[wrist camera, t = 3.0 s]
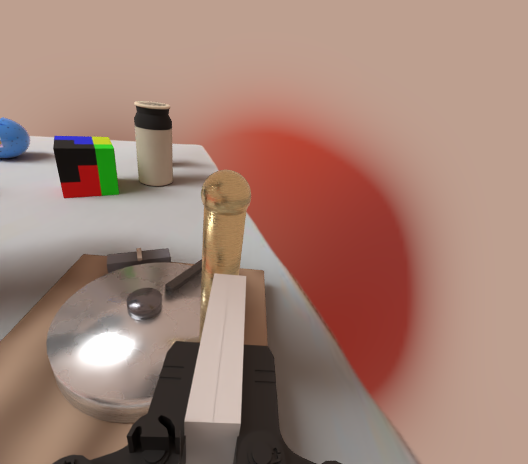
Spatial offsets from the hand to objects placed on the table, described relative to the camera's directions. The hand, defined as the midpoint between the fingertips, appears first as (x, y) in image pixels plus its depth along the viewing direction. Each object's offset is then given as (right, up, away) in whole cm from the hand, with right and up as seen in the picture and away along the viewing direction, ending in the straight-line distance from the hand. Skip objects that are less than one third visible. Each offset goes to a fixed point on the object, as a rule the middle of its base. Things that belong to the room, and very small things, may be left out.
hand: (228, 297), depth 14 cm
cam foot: (-8, -7, +14) cm, 18 cm away
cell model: (-64, +22, +59) cm, 90 cm away
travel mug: (-25, +16, +58) cm, 66 cm away
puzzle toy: (-37, +13, +50) cm, 63 cm away
